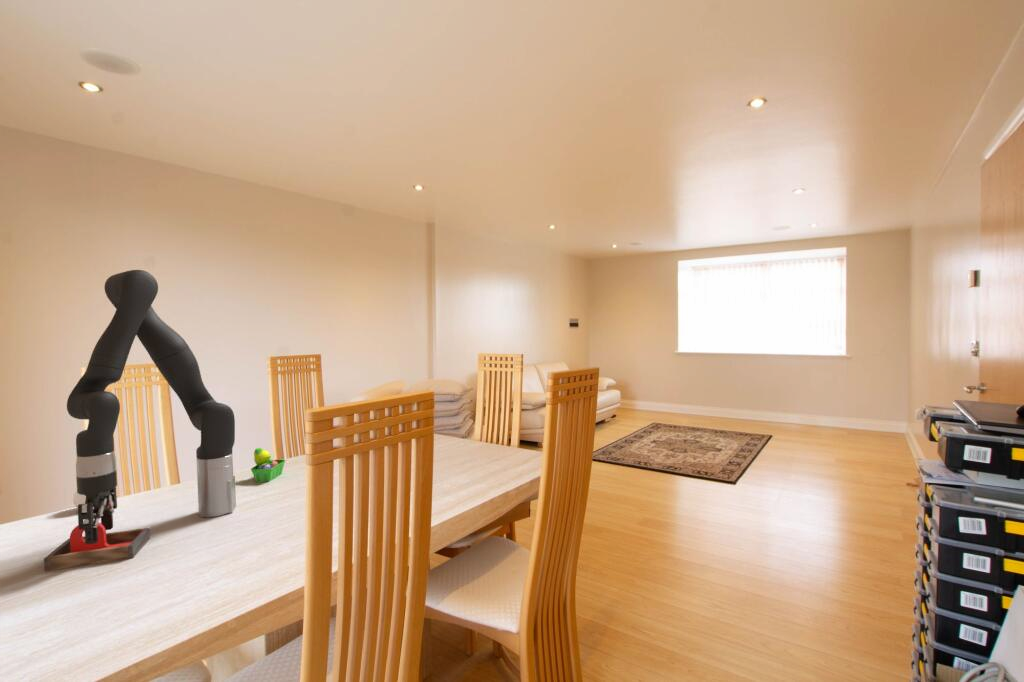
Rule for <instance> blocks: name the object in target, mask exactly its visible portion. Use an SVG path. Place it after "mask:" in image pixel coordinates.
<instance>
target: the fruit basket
mask: <svg viewBox="0 0 1024 682" xmlns="http://www.w3.org/2000/svg"><path fill="white" fill-rule="evenodd" d="M271 455H272V454H271V453H270V452H269V451H267V450H265V449H263V448H262V447H256V448H255V450H254V452H253V456H254V457H253V461H254V463H255V466H253V467H251V468H250V471H251V473H252V475H253V477H254V481H255V482H262V483H265V482H269V483H270V482H271V481H273V480H275V479H276V478H278V476H280V475H282V474H283V473H282V472H283V470H284V465H285V463H286V459H271V457H272V456H271Z"/></svg>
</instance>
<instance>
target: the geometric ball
mask: <svg viewBox="0 0 1024 682" xmlns="http://www.w3.org/2000/svg"><path fill="white" fill-rule="evenodd" d="M85 500H86V496H85V495H81V494H78V493H77V490H76V491H75V492H74V493H73V498H72V501H73V504H74V506H75V507H76V508H77V509H78V505H79V504H85Z"/></svg>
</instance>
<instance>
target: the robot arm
mask: <svg viewBox="0 0 1024 682" xmlns="http://www.w3.org/2000/svg"><path fill="white" fill-rule="evenodd" d="M158 292H159V284H158V281H157V279H156V278H155V277H154V276H153V274H152V273H150V272H148V271H145V270H142V269H131V270H126V271H123V272H119V273H116V274H115V273H114V274H113V275H111V276H109V277H108V278H107V279H106V281H105V283H104V293H105V295H106V298H107V299H108V301H109V302H110V303H111V305H113V307H114V308H115V309H116V310H115V312H114V315H113V317H112V318H111V320H110V321H109V323H108V325H107V327H106V328H105V330H104V331H103V333H102V334H101V336H100V337H99V338H98V340H97V342H96V344H95V346H94V348H93V350H92V352H91V355H90V359H89V362H88V364H87V366H86V370H85V372H84V373H83V375H82V376H81V377H80V378H79V380H78V382H77V383H76V385H75V386H74V387H73V389H72V390H71V391H70V394H69V395H68V397H67V401H66V411H67V413H68V415H69V416H70V417H72V418H73V419H76V420H88V425H87V428H86V429H84V430H81V431H79V432H78V433H77V434H76V436H75V447H76V449H75V450H76V460H75V461H76V462H75V475H76V491H77V493H78V494H81V495H85V496H86V500H85V504H79V505H78V508H77V520H78V521H77V523H78V525H77V526H79V530H82V529H85V531H84V536H85V543H86V544H94V543H96V542H97V541H98V528H97V525H98V522H99V520H100V523H101V524H102V525H103V526H104V527H105V529H106V531H110V530H112V529H113V528H114V517H113V514H114V513H115V510H116V509H117V508H118V500H117V499H118V498H117V486H118V475H117V474H118V473H117V457H116V454H115V440H114V439H115V438H114V433H115V430H116V427H117V423H118V419H119V415H120V412H121V411H120V410H121V405H120V400H119V399H118V397H117V395H116V394H114V393H113V392H111V391H108V390H107V391H106V389H107V387H108V386H110V385H112V384H115V383H117V382H119V381H120V380H121V378H122V376H123V373H124V371H125V367H126V364H127V361H128V358H129V355H130V353H131V352H130V351H131V348H132V345H133V344H134V341H135V339H136V337H137V339H138V340H139V342H140V343H141V344H142V346H143V347H144V349H145V350H146V352H147V353H148V354H147V355H148V356H149V357H150V359H151V361H152V362H153V363H154V364H155V366H156V368H157V370H158V371H159V373H160V374H161V375H162V377H163V378H164V380H165V381H166V383H167V384H168V385H169V386H170V388H171V389H172V391H173V392H174V393H175V394H176V395H177V397H178V399H179V400H180V402H181V404H182V406H183V408H184V410H185V412H186V414H187V416H188V419H189V420H190V422H191V424H192V426H193V427H194V428H195V429H196V430H198V431H199V432H200V445H199V446H198V447H197V448H196V454H195V455H196V479H197V480H196V481H197V500H198V501H197V503H198V516H199V517H202V518H213V517H214V518H215V517H220V516H223V515H227V514H231V513H233V512H234V510H235V508H236V506H237V497H236V476H235V475H234V464H233V463H234V461H233V459H234V458H233V447H234V445H235V439H236V438H235V437H236V434H235V433H236V425H235V424H236V419H235V413H234V411H233V409H232V408H231V406H229V405H228V404H225V403H221V402H217V401H216V400H215V399H214V397H213V396H212V395H211V393H210V392H209V390H208V389H207V388H206V386H205V384H204V381H203V379H202V374H201V371H200V367H199V362H198V361H197V358H196V356H195V354H194V352H193V350H192V349H191V348H190V346H189V344H188V343H187V342H186V340H185V339H184V338H183V337H182V336H181V334H179V333H178V332H177V331H176V330H174V329H173V328H172V327H171V326H170V325H168V324H167V323H166V322H165V321H164V320H163V319H161V318H160V316H159V315H158V314H157V312H156V311H155V309H154V308H153V306H152V304H153V303H154V301H155V299H156V297H157V295H158ZM83 522H84V523H83ZM88 522H89V523H88Z"/></svg>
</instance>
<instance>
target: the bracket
mask: <svg viewBox="0 0 1024 682" xmlns="http://www.w3.org/2000/svg"><path fill="white" fill-rule="evenodd" d="M83 523H84V521H83ZM88 523H89V522H88ZM97 528H98V541H97V542H96V543H94V544H86V543H85V539H84V538H83V537H84V536H83V533H85V529H82V530H79V526H78V525H76V526H75V527H74V528H73V529H72V530H71V532H70V534H69V538H70V551H71V552H70V553H75V552H82V551H89V550H96V549H103V548H110V547H117V546H124V545H130V544H131V543H132V542H129V543H122V544H114V545H109V544H108V543H107V541H106V533H107V530H106V529H105V527H104V526H103V525H102V524H101V522H99V521H98V525H97Z"/></svg>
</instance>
